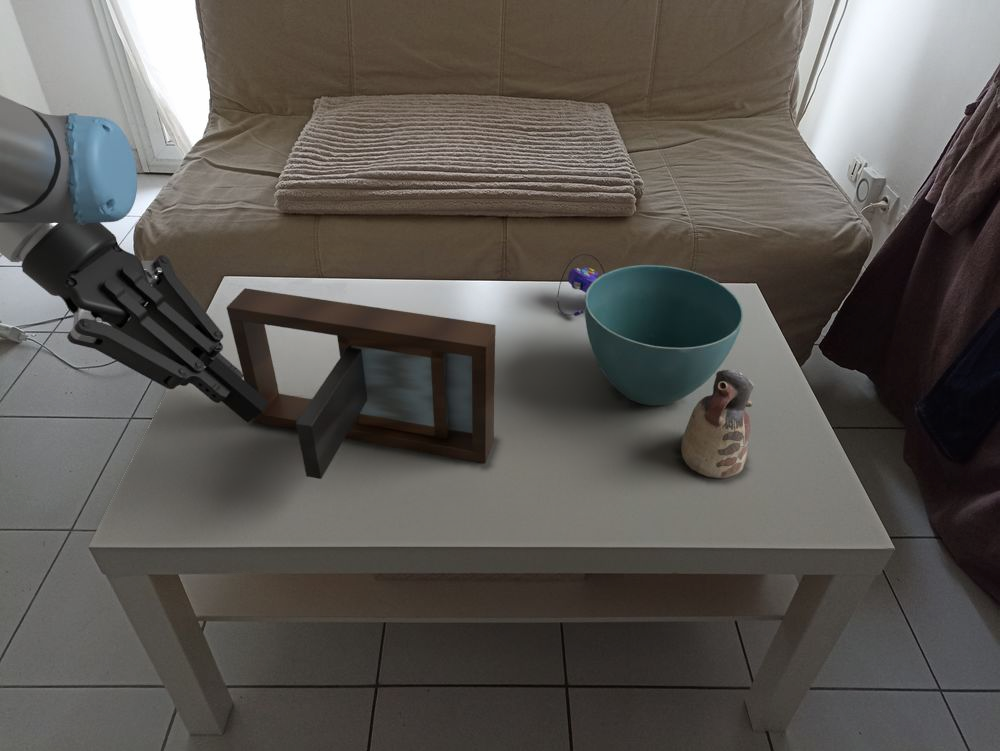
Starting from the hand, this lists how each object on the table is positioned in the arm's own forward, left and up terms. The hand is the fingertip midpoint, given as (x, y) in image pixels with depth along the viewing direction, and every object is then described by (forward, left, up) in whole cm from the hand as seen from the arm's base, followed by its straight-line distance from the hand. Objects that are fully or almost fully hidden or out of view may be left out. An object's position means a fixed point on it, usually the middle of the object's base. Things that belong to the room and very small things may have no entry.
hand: (258, 412), depth 73 cm
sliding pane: (+9, -6, -9) cm, 14 cm away
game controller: (+52, +1, -11) cm, 53 cm away
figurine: (+39, -28, -11) cm, 49 cm away
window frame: (+13, +1, -11) cm, 17 cm away
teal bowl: (+44, -15, -11) cm, 48 cm away
